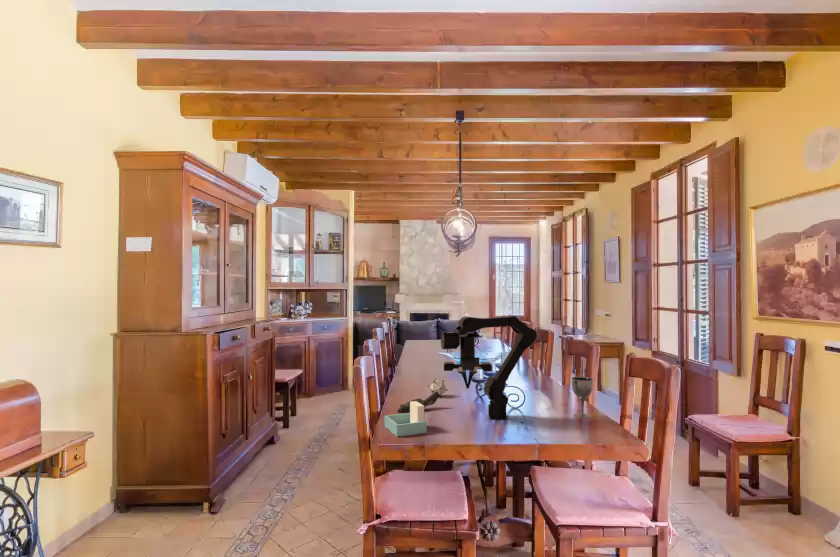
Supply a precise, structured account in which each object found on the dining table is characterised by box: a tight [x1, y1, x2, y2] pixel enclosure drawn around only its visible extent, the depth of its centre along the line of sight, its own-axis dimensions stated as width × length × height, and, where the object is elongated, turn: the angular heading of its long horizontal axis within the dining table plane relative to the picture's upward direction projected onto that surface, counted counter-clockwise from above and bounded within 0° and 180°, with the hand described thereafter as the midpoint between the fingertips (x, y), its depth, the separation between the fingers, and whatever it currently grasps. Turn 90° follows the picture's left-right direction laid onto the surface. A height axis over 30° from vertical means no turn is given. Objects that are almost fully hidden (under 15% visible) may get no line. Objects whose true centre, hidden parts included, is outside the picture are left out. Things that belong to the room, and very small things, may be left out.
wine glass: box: [571, 376, 594, 419], centre depth 191 cm, size 8×8×15 cm
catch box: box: [384, 412, 428, 438], centre depth 174 cm, size 11×13×4 cm
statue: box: [396, 392, 440, 413], centre depth 202 cm, size 6×6×20 cm
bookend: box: [409, 400, 425, 423], centre depth 175 cm, size 10×8×9 cm
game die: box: [427, 378, 449, 399], centre depth 225 cm, size 9×8×10 cm
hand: (467, 388), depth 188 cm, fingers closed
